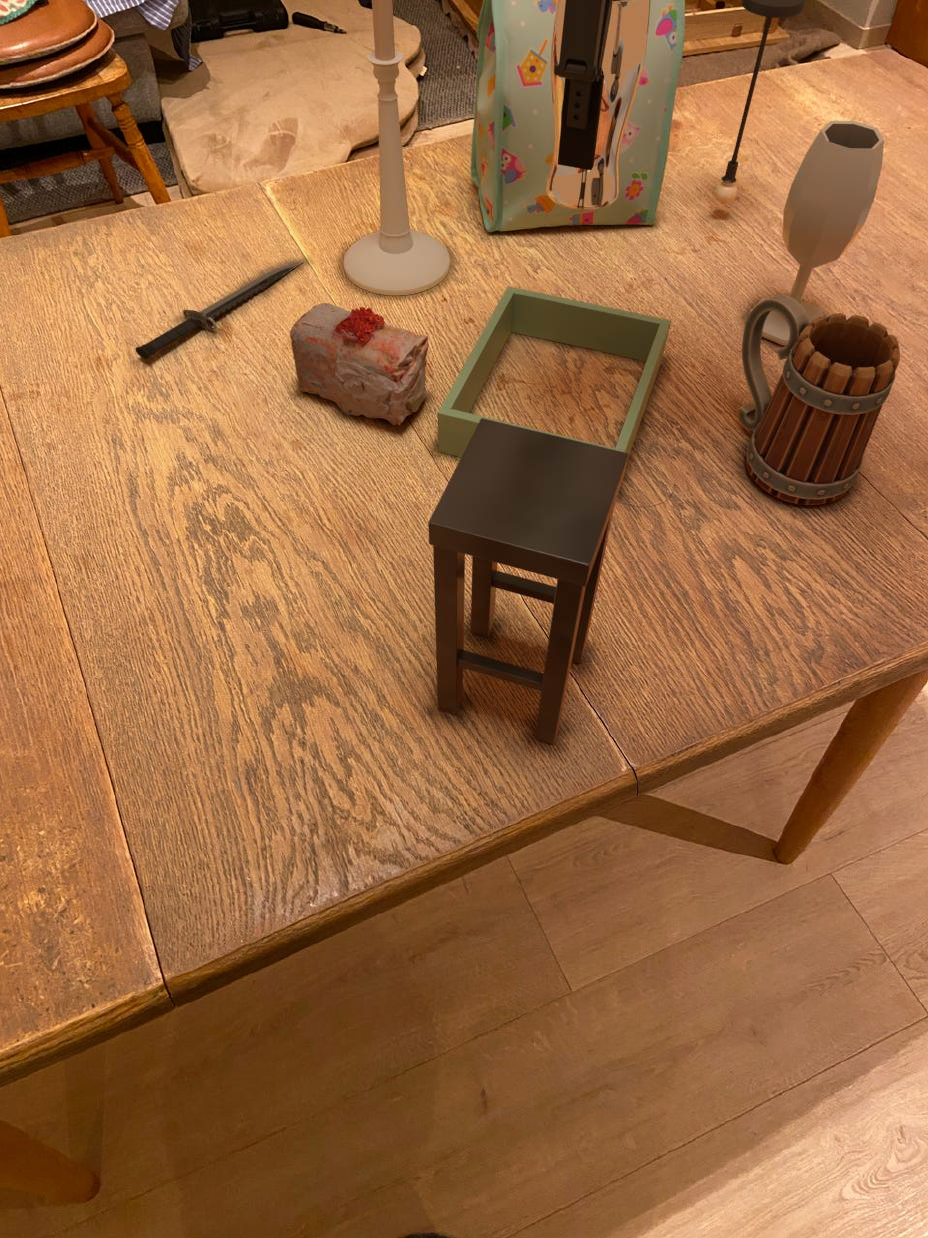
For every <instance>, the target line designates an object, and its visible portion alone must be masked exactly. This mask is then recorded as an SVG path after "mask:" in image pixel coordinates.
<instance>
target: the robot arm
mask: <svg viewBox="0 0 928 1238" xmlns="http://www.w3.org/2000/svg"><path fill="white" fill-rule="evenodd" d="M612 2H613V0H566V3H565V13H564V22H563V31H562V41H561V50H560V60H559V64H558V65H554V75H557V76H559V77H562V78H565V85H564V97H563V108H562V120H561V131H560V142H559V154H558V165H563V166H569V167H575V168H580V169H586V170H592V168H593V166H594V159H595V151H596V142H597V134H598V126H599V117H600V109H601V100H602V92H603V84H604V75H602V63H603V57H604V51H605V46H606V40H607V34H608V29H609V23H610V17H611V10H612Z"/></svg>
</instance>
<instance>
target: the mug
mask: <svg viewBox="0 0 928 1238" xmlns="http://www.w3.org/2000/svg"><path fill="white" fill-rule="evenodd" d="M770 297H771V298H769V299H767V300H765V301H763V302H760V303H759V304H758V305H756V304H755V305H754V306H753V307H752V309H753V310H752V309H751V310H752V311H751V310H750V311H751V313H750V314H749V313H748V316H747V318H746V321H745V324H744V327H743V328H744V329H743V334H742V342H741V362H742V368H743V372H744V376H745V379H746V383H747V385H748V389H749V392H750V394H751V397H752V401H753V402H754V404H753V403H752V402H748V403H746V404H744V405H741V406H740V407H739V408H738V415H737V416H738V418H739V422H740V424H741V425H742V426H743V428H745V429H746V430H747V431H751V432H752V434H751V436H750V438H749V441H748V443H747V447H746V452H745V453H746V454H745V459H746V461H745V466H746V470H747V471H748V473H749V476H750V477H751V478H752V479H753V480H754V482H755V483H756V484H757V485H758V486H759V487H760V488H761V489H762V490H763V491H765V492H766V493H768V494H770V495H771V496H773V497H774V498H777V499H779V500H781V501H783V502H787V503H791V504H795V505H804V506H817V505H824V504H827V503H832V502H835V501H836V500H839V499H841V498H842V497H844V496H845V495H846V494H847V491H849V490H850V489H851V487H852V486H853V485H854V483H856V480H857V478H858V476H859V473H860V471H861V468H862V466H863V461H864V454H865V452H866V449H867V447H868V444H869V441H870V439H871V436H872V433H873V431H874V428H875V426H876V423H877V420H878V418H879V416H880V413H881V411H882V408H883V405H884V404H885V403H886V401H887V399H888V397H889V396H890V392H891V390H892V387H893V386H894V385H893V384H894V383H895V380H896V371H897V370H898V369H897V368H898V366H899V364H900V360H901V351H900V344H899V343H900V342H899V341H898V338H897V337H896V336H895V335H893V334H889V331H888V329H887V327H886V326H884V325H883V324H881V323H879V322H873V323H872V324H870V322H869V321H870V320H869V319H868V318H867V317H865V316H862V315H858V314H853V315H851V316H850V317H849V318H847V316H846V314H844V313H841V312H840V313H839V312H836V313H832V314H830V315H829V316H824V317H821V316H820V317H818V318H816V319H814V320H813V321H812V322H811V323H809V318H808V316H807V313H806V311H805V310H804V308H803V307H802V305H801V304H800V303H799V302H798V301H797V300H795V299H794V298H792V297H790V295H787V294H784V293H783V294H776V295H774V296H770ZM771 311H775V312H777V313H779V314H780V315H782V316H783V317H784V318H785V320H786V321H787V323H788V326H789V330H790V336H789V341H788V343H787V345H783V346H782V347H780V348H778V349H777V350H776V353H777V355H778V356H777V357H778V361H784V360H785V362H784V364H783V368H782V373H781V375H780V377H779V379H778V381H777V384H776V386H775V389H774V390H773V392H772V390H771V388H770V384H769V381H768V379H767V377H766V373H765V369H764V366H763V365H764V364H763V361H762V353H761V351H762V350H761V346H762V338H763V337H762V332H763V327H764V323H765V320H766V318H767V316H768V315H769V313H770V312H771Z"/></svg>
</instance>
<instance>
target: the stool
mask: <svg viewBox="0 0 928 1238" xmlns="http://www.w3.org/2000/svg"><path fill="white" fill-rule="evenodd" d="M628 460H629V457H628V453H625V452H621V451H617V450H613V449H608V448H604V447H600V446H596V445H592V444H588V443H583V442H579V441H575V440H571V439H567V438H563V437H559V436H554V435H550V434H546V433H542V432H538V431H534V430H529V429H525V428H521V427H517V426H513V425H509V424H504V423H500V422H496V421H492V420H488V419H484V418H481V420H480V421H479V423H478V425H477V427H476V429H475V431H474V433H473V435H472V437H471V439H470V441H469V443H468V445H467V447H466V449H465V451H464V453H463V455H462V457H460V459H459V461H458V463H457V465H456V467H455V469H454V470H453V473H452V475H451V477H450V479H449V481H448V483H447V485H446V486H445V489H444V490H443V492H442V495H441V497H440V499H439V501H438V503H437V505H436V506H435V509H434V510H433V513H432V514H431V516H430V518H429V520H428V522H427V524H428V528H427V529H428V544H429V545H431V546H432V553H433V554H432V555H433V557H432V558H433V589H434V590H433V591H434V623H435V624H434V625H435V656H436V657H435V658H436V659H435V661H436V693H437V695H436V696H437V710H438V711H442V712H445V713H448V714H452V715H455V716H456V715H458V712H459V710H460V708H461V705H462V702H463V699H464V670H466V671H469V672H473V673H477V674H480V675H484V676H487V677H490V678H494V679H497V680H500V681H504V682H507V683H511V684H514V685H518V686H521V687H524V688H528V689H531V690H534V691H537V692H540V696H539V702H538V709H537V714H536V715H537V716H536V723H535V728H534V729H535V730H534V737H533V739H534V740H536V741H539V742H542V743H546V744H549V745H554V744H555V742H556V739H557V736H558V733H559V730H560V725H561V720H562V714H563V710H564V704H565V699H566V694H567V689H568V683H569V678H570V672H571V667H572V663H574V664H578V665H580V664H581V662H582V660H583V657H584V654H585V650H586V647H587V642H588V638H589V631H590V627H591V622H592V617H593V612H594V607H595V602H596V597H597V593H598V588H599V584H600V579H601V574H602V568H603V565H604V564H603V563H604V559H605V554H606V549H607V544H608V540H609V535H610V530H611V526H612V521H613V515H614V510H615V506H616V501H617V499H618V496H619V492H620V489H621V486H622V483H623V480H624V477H625V473H626V470H627V464H628ZM466 555H467V556H471V558H472V559H471V595H470V597H471V598H470V599H471V600H470V633H471V634H475V635H477V636H481V637H485V638H489V637H490V634H491V631H492V630H493V627H494V625H495V612H496V611H495V610H496V597H497V589H499V590H503V591H506V592H509V593H513V594H517V595H519V596H524V597H527V598H531V599H534V600H538V601H542V602H546V603H549V604H553V607H552V613H551V621H550V628H549V635H548V641H547V648H546V655H545V662H544V669H543V672H541V671H538V670H534V669H530V668H527V667H523V666H520V665H517V664H514V663H510V662H507V661H504V660H500V659H496V658H493V657H490V656H488V655H483V654H479V653H476V652H473V651H470V650H466V649H464V647H465V646H464V645H465V644H464V643H465V587H466V586H465V583H466V582H465V580H466V579H465V576H466ZM499 564H501V565H504V566H508V567H511V568H515V569H518V570H523V571H527V572H530V573H534V574H537V575H541V576H545V577H549V578H552V579H556V586H555V585H551V584H547V583H544V582H541V581H536V580H533V579H530V578H525V577H522V576H518V575H514V574H511V573H507V572H504V571H500V570H498V565H499Z"/></svg>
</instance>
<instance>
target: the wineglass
mask: <svg viewBox="0 0 928 1238" xmlns="http://www.w3.org/2000/svg"><path fill="white" fill-rule="evenodd" d="M884 146H885V139H884V137H883V135H882V134H881V132H880V130H879V129H878V128H877V127H875V126H872V125H868V124H865V123H862V122H860V121H856V120H830V121H829V122H828V123H826V125H824V126H823V127H822V128H821V129H820V130H819V132H818V133H817V135H816V137H815V138H814V140H813V142H812V143H811V145H810V146H809V148H808V149H807V151H806V153H805V154H804V157H803V160H802V161H801V163H800V165H799V168H798V170H797V172H796V174H795V176H794V179H793V181H792V183H791V185H790V189H789V192H788V195H787V198H786V200H785V204H784V207H783V213H782V214H783V217H782V234H781V237H782V240H783V242H784V245H785V247H786V250H787V252H788V253H789V255H791V257H792V258H793V259H794V260H795V261H796V262H797V263H798V265H799V267H798V270H797V274H796V276H795V279H794V282H793V285H792V288H791V290H790V294H789V296H790V297H792V298H794V299H795V300H797V301H798V302H799V303H800V304H801V305H802V307H803V308H804V310H805V311H806V313H807V316H808V318H809V323H811V322H812V321H813V320H814V319H816V318H818V317H820V316H821V317H825V316H824V313H823V310H822V308H821V307H820V306H817V305H815V304H812V303H809V302H807V301H804V300H803V298H804V295H805V292H806V289H807V286H808V283H809V280H810V278H811V275H812V272H813V269H815V268H818V267H820V266H824V265H827V264H829V263H833V262H836V261H838V260H839V259H840V258H841V257H842V256H843V255H844V254H845V252H847V251H848V250H849V248H850V246H851V245H852V243H854V240H855V239H856V237H857V236H858V235H859V233H861V230H862V229H863V227H864V226H865V225H866V222H867V219H868V216H869V214H870V211H871V209H872V206H873V203H874V200H875V197H876V193H877V190H878V185H879V180H880V175H881V172H882V166H883V161H884V159H883V158H884V148H885V147H884ZM771 297H772V296H763V297H762V298H761V299H760V300H759V301H758V302H757V303H756V304H755V306H756V305H758V304H759V303H760V302H763V301H765V300H767V299H769V298H771ZM752 310H753V308H751V310H750V311H749V312H748V315H749V314H750V313H751V311H752ZM789 336H790V330H789V326H788V323H787V321H786V320H785V318H784V317H783V316H782V315H780V314H779V313H777V312H775V311H771V312H770V313H769V315H768V316H767V318H766V320H765V323H764V327H763V332H762V338H764V339H767V340H769V341H771V342H773V343H777V344H778V345H781V346H786V345H787V343H788V341H789Z"/></svg>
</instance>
